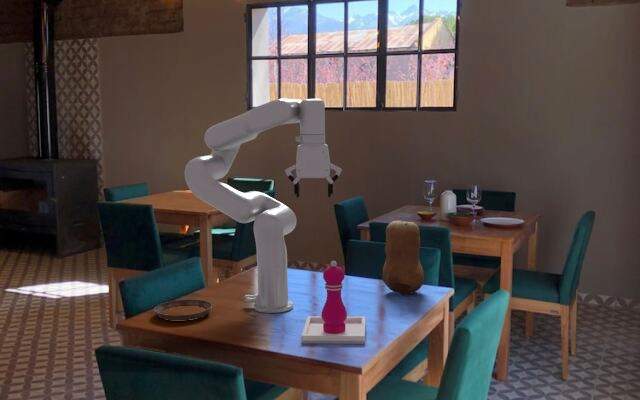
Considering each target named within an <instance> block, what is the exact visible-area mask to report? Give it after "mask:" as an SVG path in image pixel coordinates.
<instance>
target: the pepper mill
mask: <svg viewBox="0 0 640 400" xmlns="http://www.w3.org/2000/svg"><path fill="white" fill-rule="evenodd" d="M337 264H338V263H337V261H336V260H332V261H331V262H330V266H328V267H326V268H325V269H324V271H323V273H322V279H323V280H324V282H325V284H324V289H325V290H326V299H325V302H324V304H323V308H322V311H321V315H320V316H321V317H322V319H323V321H324V322H325V323H324V324H323V330H324V332H326V333H331V334H338V333H342V332H344V331H345V323H344V321H345V320H346V318H347V317H348V311H347V309H346V307H345V304H344V301H343V299H342V290H343V289H344V287H343V281H344V280H345V272H344V269H343V268H341V267H340V266H338V265H337Z"/></svg>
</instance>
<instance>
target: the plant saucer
mask: <svg viewBox="0 0 640 400" xmlns="http://www.w3.org/2000/svg"><path fill="white" fill-rule="evenodd" d="M178 306H199V307H203V308H205V309H206V310H204V311H201V312H198V313H192V314H184V315H168V314H162V313H160V312H161V311H164V310H166V309H169V308H172V307H178ZM212 307H213V304H212V303H211V302H210V301H207V300H204V299H203V300H202V299H193V298H191V299H189V298H188V299H176V300H170V301H167V302H162V303H160V304H158V305H157V306H155V307H154V308H153V311H154V313H156V315H157V316H158V317H159V318H160V319H161V318H163V319H168V320H189V319H195V318H200V317H202V316H204V317H205V315H206V314H207V315H208V314H209V312H210V311H211V309H212ZM207 315H206V316H207ZM202 318H203V317H202ZM163 319H162V320H163ZM200 319H201V318H200Z"/></svg>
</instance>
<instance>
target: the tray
mask: <svg viewBox="0 0 640 400" xmlns="http://www.w3.org/2000/svg"><path fill="white" fill-rule="evenodd" d="M324 323H325V322H324V321H323V319H322V317H321V315H320V316H318V315H317V316H316V315H315V316H310V315H308V316H307V317H306V320H305V324H304V326H303V330H302V334H301V344H311V345H312V344H313V345H314V344H321V345H322V344H325V345H328V344H329V345H331V344H335V345H339V344H340V345H365V344H366V316H347V318H346V320H345V321H344V323H345V331H344V332H342V333H338V334H331V333H326V332H324V330H323V324H324Z"/></svg>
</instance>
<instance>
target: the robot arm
mask: <svg viewBox="0 0 640 400" xmlns="http://www.w3.org/2000/svg"><path fill="white" fill-rule="evenodd" d="M325 108H326V107H325V101H324V100H322V99H321V98H307V99H306V98H305V99H294V98H278V99H274V100H271V101H269V102H266V103H263V104H261V105H258V106H255V107H254V108H251V109H250V110H248V111H246V112H243V113H242V114H239V115H236V116H234V117H233V118H229V119H226V120H224V121H220V122H218V123H217V124H214V125H212V126H210V127H209V128H207V130H206V131H205V133H204V137H203V138H204V144H206V147H208V148H209V149H210V150H211V152H210V154H207V155H201V156H196V157H194V158H192V159H190V160H189V161H188V162H187V163H186V165H185V169H184V179H185V183H186V185H187V188H188V189H189V191H190V192H191V193H192V194H193V195H194V196H195V197H196V198H197V199H199V200H200V201H202V202H204V203H206V204H207V205H209V206H211V207H213V208H215V209H216V210H218V211H219V212H221V213H222V214H225V215H226V216H228V217H229V218H231V219H233V220H235V221H236V222H237V223H241V224H247V223H251V222H253V221H254V222H253V235H254V239H255V240H254V241H255V247H256V265H257V266H256V267H257V268H256V269H257V293H255V294H245V295H244V301H246V302H247V303H253V309H254V310H255V311H256V312H259V313H265V314H279V313H285V312H288V311H290V310H292V309H293V307H294V303H293V302H292V300H289V289H288V288H289V287H288V286H289V285H288V282H289V279H288V252H287V251H288V250H287V245H286V241H285V236H286V235H288V234H290V233H292V232H293V230H295V228H296V227H297V222H298V221H297V216H296V214H295V212H294V211H293V210H292V209H291V208H290V207H289V206H287V205H285V204H284V203H282V202H280V201H278V200H276V199H275V198H273V197H271V196H269V195H268V194H266V193H264V192H261V191H258V190H257V191H256V190H252V191H247V192H242V191H240V190H237V189H235V188H234V187H232V186H230V185H229V184H227V183H225V182H223V181H219V180H220V179H221V180H222V179H223V178H224V177H225V176H226V175H227V174H228V172H229V171H230V169H231V167H232V164H233V162H234V161H235V159H236V157H237V154H238V153H239V150H240V147H241V145H242V144H244V143H247V142H249V141H253V140H255V139H256V138H257V137H258V135H259V134H260V133H262V132H265V131H267V130H271V129H272V128H275V127H277V126H282V125H290V124H291V125H292V124H297V123H299V134H300V135H298V136H295V142H299V143H300V144H299V145H297V147H296V160H295V161H296V162H295V164H294V165H291V166H290V167H288V168H286V169H285V170H284V172H285V174H286V176H287V178H288V179H289V180H290V181H291V183H293V189H294V190H293V191H294V192H293V193H294V195H296V198H299V197H300V194H301V189H300V188H301V187H300V182H299V181H300V180H301V179H325V180H326V181H327V182H328V183H327V197H329V198H331V196H332V195H333V194H334V183H335V182H336V181H337V179H339V177H340V175H341V172H342V171H343V169H342V168H341V167H339V166H337V165H335V164H333V163H331V159H330V150H329V146H328V144H326V112H325V111H326V110H325ZM293 170H295V173H296V177H294V175H293V174H292V172H293ZM331 170H334V171H335V174H334V176H333V177H332V176H331Z"/></svg>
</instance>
